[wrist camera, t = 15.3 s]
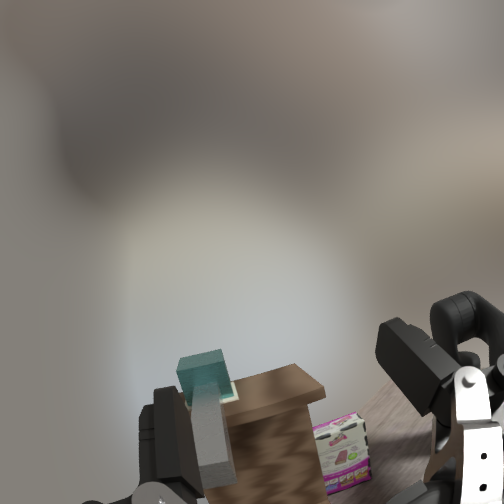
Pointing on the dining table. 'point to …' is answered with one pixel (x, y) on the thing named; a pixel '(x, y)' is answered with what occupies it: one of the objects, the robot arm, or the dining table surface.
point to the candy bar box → (343, 452)
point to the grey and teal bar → (209, 415)
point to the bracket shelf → (272, 440)
